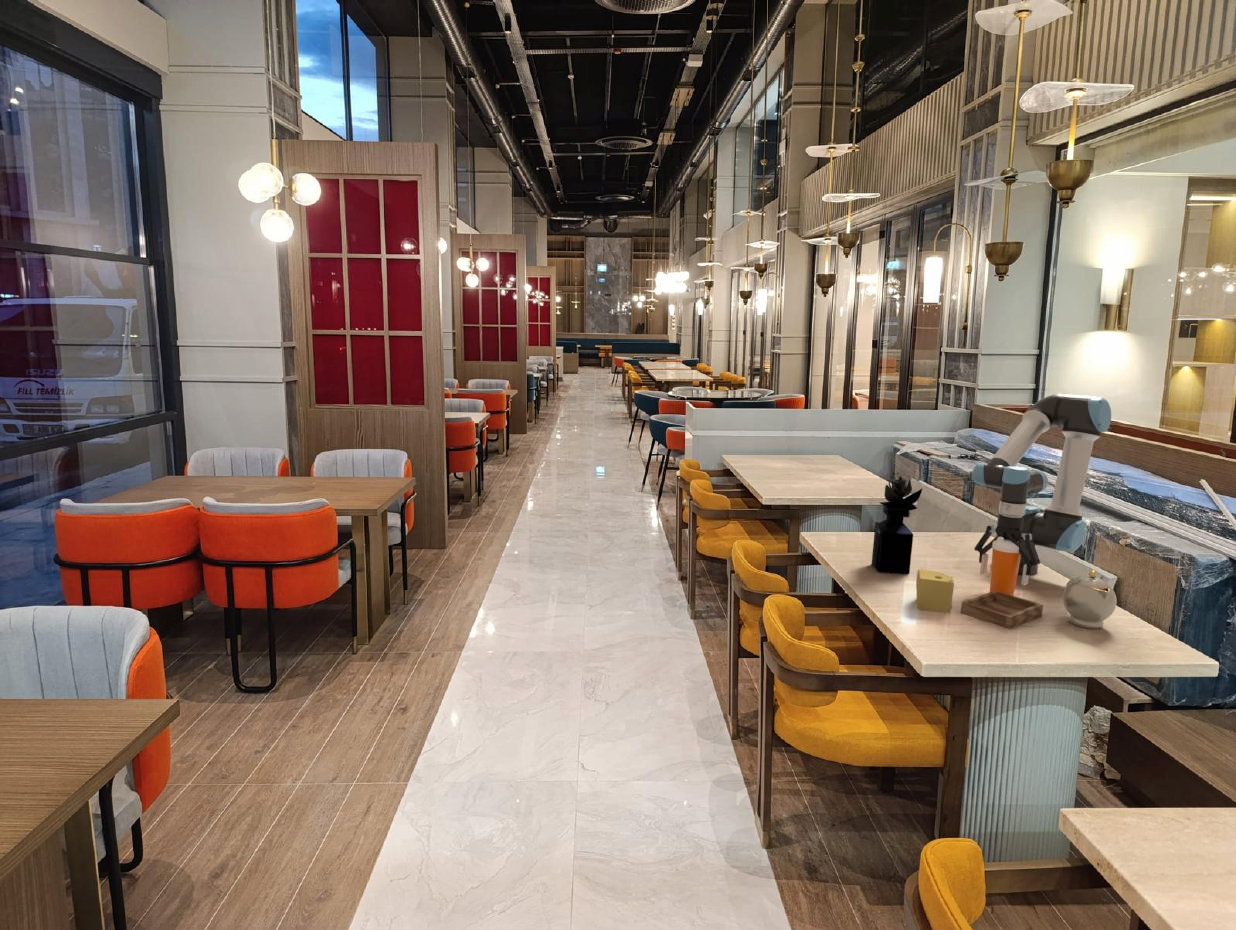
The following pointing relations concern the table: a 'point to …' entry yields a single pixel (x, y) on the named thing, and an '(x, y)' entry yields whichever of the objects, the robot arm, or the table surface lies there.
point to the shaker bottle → (1004, 565)
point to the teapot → (1089, 601)
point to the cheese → (934, 591)
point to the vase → (894, 530)
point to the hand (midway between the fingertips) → (1003, 578)
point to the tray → (1001, 609)
